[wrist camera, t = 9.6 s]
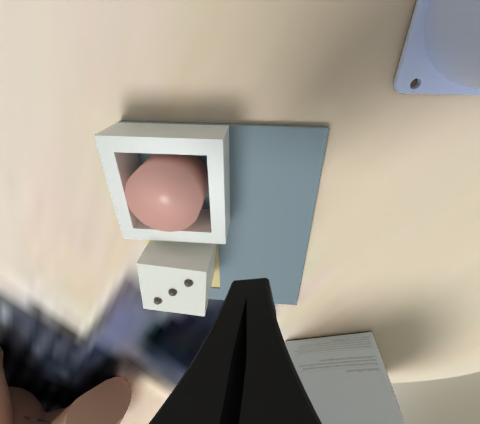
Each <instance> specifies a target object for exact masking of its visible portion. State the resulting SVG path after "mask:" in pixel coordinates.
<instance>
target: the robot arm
mask: <svg viewBox="0 0 480 424" xmlns="http://www.w3.org/2000/svg"><path fill="white" fill-rule="evenodd" d="M414 79H417V84H416V86H415V87H413V88H411V87H410V84H411V82H412V81H413V80H414ZM393 88H394V90H395V91H396V92H398V93H401V94H441V95H480V0H417V2H416V6H415V9H414V13H413V16H412V20H411V23H410V27H409V30H408V34H407V37H406V41H405V44H404V48H403V51H402V55H401V58H400V62H399V65H398V69H397V72H396V76H395V79H394V83H393ZM149 424H322V423H321V421H320V419H319V417H318V415H317V413H316V411H315V409H314V407H313V405H312V403H311V401H310V399H309V397H308V395H307V393H306V391H305V389H304V387H303V384H302V382H301V380H300V378H299V376H298V374H297V371H296V369H295V367H294V364H293V362H292V360H291V357H290V355H289V352H288V350H287V347H286V345H285V342H284V340H283V337H282V334H281V331H280V328H279V325H278V322H277V319H276V310H275V305H274V301H273V296H272V291H271V287H270V282H269V279H267V278H257V279H246V280H235V281H233V282H232V284H231V286H230V289H229V291H228V293H227V296H226V298H225V300H224V303H223V305H222V307H221V309H220V311H219V313H218V315H217V317H216V319H215V321H214V323H213V325H212V327H211V329H210V331H209V333H208V335H207V337H206V338H205V340H204V342H203V344H202V345H201V347H200V349H199V351H198V352H197V354H196V356H195V358H194V359H193V361H192V362H191V364H190V366H189V367H188V369H187V370H186V372H185V374H184V375H183V377H182V378H181V380H180V381H179V383H178V384H177V386H176V387H175V389H174V390H173V391H172V393H171V394H170V396H169V397H168V398H167V400H166V401H165V403H164V404H163V405H162V407H161V408H160V409H159V411H158V412H157V414H156V415H155V416H154V417H153V419H152V420H151V421H150V423H149Z"/></svg>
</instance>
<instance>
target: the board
mask: <svg viewBox="0 0 480 424" xmlns="http://www.w3.org/2000/svg"><path fill="white" fill-rule="evenodd" d="M119 122H125V123H160V124H195V125H229V163H230V225H229V230H228V235H227V240H226V244H216V256H215V272H214V276H213V281H212V286H211V290H210V295H209V299H217V300H225V298H226V296H227V293H228V291H229V289H230V286H231V284H232V282H233V281H235V280H246V279H257V278H267V279H269V282H270V287H271V291H272V296H273V301H274V303H275V304H290V305H297V300H298V295H299V289H300V284H301V278H302V273H303V267H304V262H305V257H306V251H307V246H308V240H309V235H310V230H311V224H312V219H313V213H314V208H315V203H316V197H317V192H318V186H319V181H320V176H321V170H322V165H323V159H324V154H325V148H326V143H327V138H328V132H329V127H325V126H290V125H255V124H219V123H184V122H149V121H119ZM151 155H152V154H150V153H138V156H139V161H140V166H141V165H142V164H143V163H144V162H145V161H146V160H147V159H148V158H149V157H150V156H151ZM196 156H197V157H198V158H199V159H200V160H201V161H202V162H203V164H204V165H205V167H206V169H207V171H208V166H207V156H206V155H196ZM201 209H210V199H209V189H208V192H207V195H206V197H205V200H204V202H203V205H202V208H201ZM149 241H150V240H146V243H147V244H148V243H149Z"/></svg>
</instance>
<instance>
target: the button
mask: <svg viewBox="0 0 480 424" xmlns="http://www.w3.org/2000/svg"><path fill="white" fill-rule="evenodd" d="M208 189H209V182H208V171H207V169H206V167H205V165H204V164H203V162H202V161H201V160H200V159H199V158H198V157H197V156H196V155H178V154H152V155H151V156H150V157H149V158H148V159H147V160H146V161H145V162H144V163H143V164H142V165H141V166H140V167H139V168H138V169H137V170H136V171H135V172H134V173H133V174H132V175H131V176H130V178H129V179H128V181H127V183H126V187H125V197H126V201H127V204H128V206H129V208H130V210H131V211H132V213H133V214H134V215H135V216H136V217H137V218H138V219H139V220H140V221H141V222H143V223H144V224H145V225H147V226H149V227H151V228H154V229H156V230H160V231H166V232H175V231H180V230H183V229H186V228H187V227H189V226H191V225H192V224H193V223H194V222H195V221H196V219H197V217H198V215H199V213H200V210H201V208H202V205H203V202H204V200H205V197H206V195H207V192H208Z"/></svg>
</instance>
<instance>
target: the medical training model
mask: <svg viewBox="0 0 480 424" xmlns="http://www.w3.org/2000/svg"><path fill="white" fill-rule="evenodd" d="M130 399H131V390H130V387H129V383H128V381H127V380H125V379H124V378H123V377H113V378H110V379H107V380H105V381H104V382H102V383H101V384H99V385H97V386H96V387H94V388H92V389H91V390H89V391H87V392H86V393H84V394H83V395H81V396H80V397H78V398H77V399H76V400H75V401H74V402H73V403H72V404H71V405H70V406H68V407H67V408H61V409H56V410H53V411H51V412H45V410H44V409H43V407H42V405H41V403H40V402H39V401H38V399H37V398H36V397H35V396H34V395H33V394H32V393H31V392H29V391H27V390H25V389H23V388H19V387H12V386H11V387H8V385H7V381H6V378H5V374H4V368H3V350H2V348H1V346H0V424H120V422H121V421H122V419H123V417H124V415H125V413H126V411H127V409H128V406H129V404H130Z"/></svg>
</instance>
